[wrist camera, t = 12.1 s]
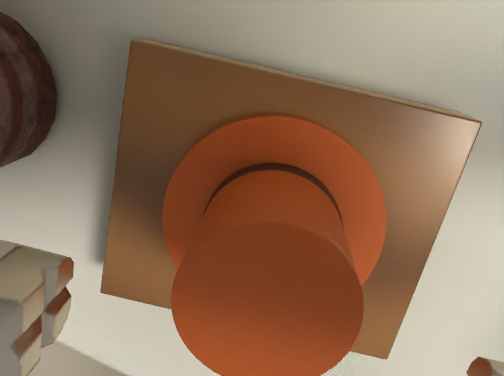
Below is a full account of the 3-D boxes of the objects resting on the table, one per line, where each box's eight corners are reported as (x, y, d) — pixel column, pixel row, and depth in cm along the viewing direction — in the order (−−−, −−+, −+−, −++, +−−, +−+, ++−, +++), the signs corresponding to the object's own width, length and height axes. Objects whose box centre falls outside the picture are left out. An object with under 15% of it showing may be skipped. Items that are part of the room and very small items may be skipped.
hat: (184, 89, 15) (127, 116, 9) (414, 143, 15) (486, 199, 9) (151, 289, 17) (92, 397, 12) (346, 334, 17) (373, 462, 12)
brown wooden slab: (148, 39, 16) (129, 38, 14) (460, 112, 16) (483, 121, 14) (117, 268, 19) (99, 293, 18) (377, 330, 19) (387, 360, 18)
